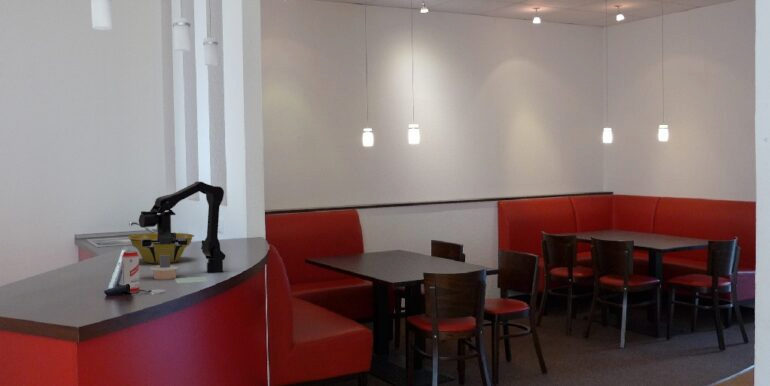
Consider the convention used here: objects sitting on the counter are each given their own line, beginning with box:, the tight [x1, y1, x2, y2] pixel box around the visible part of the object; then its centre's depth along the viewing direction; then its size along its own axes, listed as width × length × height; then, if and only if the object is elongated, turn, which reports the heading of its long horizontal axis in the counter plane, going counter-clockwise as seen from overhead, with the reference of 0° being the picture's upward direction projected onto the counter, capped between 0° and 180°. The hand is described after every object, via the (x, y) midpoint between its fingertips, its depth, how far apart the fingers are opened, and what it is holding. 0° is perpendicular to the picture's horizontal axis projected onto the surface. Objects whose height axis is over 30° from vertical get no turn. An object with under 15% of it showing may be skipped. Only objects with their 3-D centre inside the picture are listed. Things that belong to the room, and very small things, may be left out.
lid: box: [149, 255, 180, 271], centre depth 316 cm, size 12×12×6 cm
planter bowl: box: [127, 232, 195, 264], centre depth 369 cm, size 32×32×13 cm
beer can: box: [121, 250, 140, 294], centre depth 283 cm, size 6×6×16 cm
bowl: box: [153, 269, 177, 280], centre depth 316 cm, size 9×9×4 cm
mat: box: [174, 276, 210, 284], centre depth 309 cm, size 13×13×1 cm
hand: (164, 261), depth 316 cm, fingers open, 8 cm apart
